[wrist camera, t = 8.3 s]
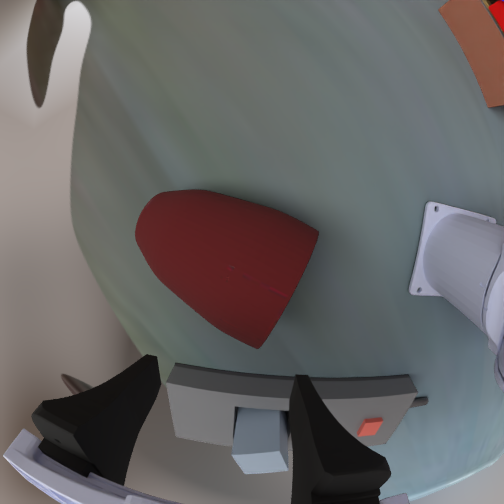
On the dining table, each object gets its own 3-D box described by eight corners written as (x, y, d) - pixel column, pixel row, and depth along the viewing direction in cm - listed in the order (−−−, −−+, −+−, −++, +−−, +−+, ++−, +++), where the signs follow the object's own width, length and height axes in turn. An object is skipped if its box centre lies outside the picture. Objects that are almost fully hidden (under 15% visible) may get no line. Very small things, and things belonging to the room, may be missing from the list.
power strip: (441, 370, 23) (454, 389, 19) (411, 421, 25) (419, 440, 22) (175, 362, 24) (164, 386, 21) (182, 418, 26) (174, 440, 23)
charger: (279, 394, 24) (279, 451, 17) (287, 418, 25) (288, 471, 18) (239, 399, 24) (231, 454, 17) (251, 423, 25) (245, 475, 19)
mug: (184, 240, 25) (280, 291, 24) (131, 305, 20) (240, 371, 19) (190, 142, 17) (330, 205, 16) (100, 212, 12) (285, 317, 11)
